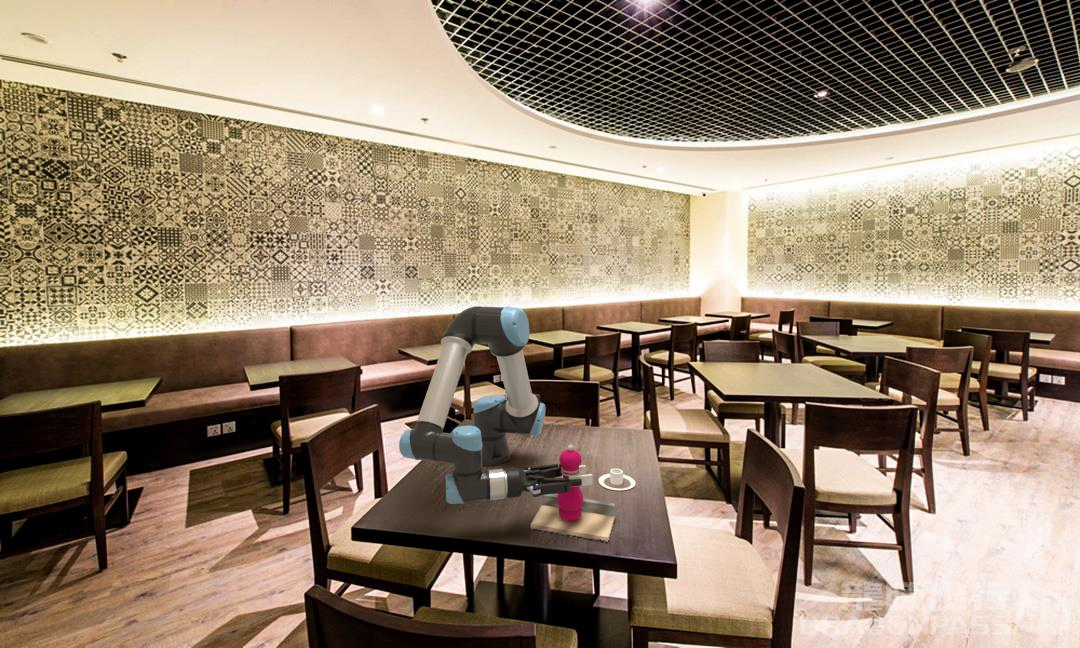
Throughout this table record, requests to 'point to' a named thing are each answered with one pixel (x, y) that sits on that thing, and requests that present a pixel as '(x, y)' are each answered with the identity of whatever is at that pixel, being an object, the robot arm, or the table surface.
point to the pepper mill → (573, 498)
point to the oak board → (590, 524)
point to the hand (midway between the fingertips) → (588, 474)
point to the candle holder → (616, 479)
